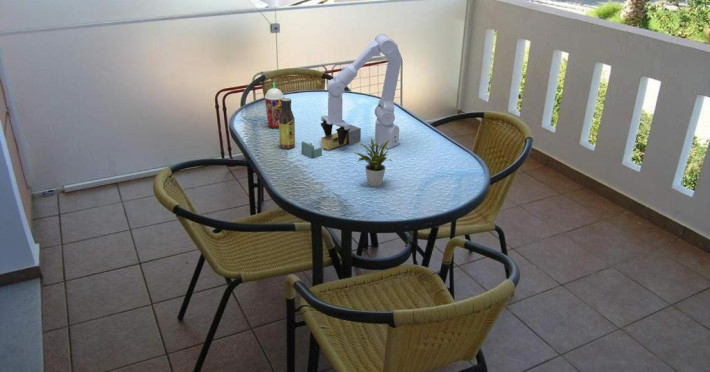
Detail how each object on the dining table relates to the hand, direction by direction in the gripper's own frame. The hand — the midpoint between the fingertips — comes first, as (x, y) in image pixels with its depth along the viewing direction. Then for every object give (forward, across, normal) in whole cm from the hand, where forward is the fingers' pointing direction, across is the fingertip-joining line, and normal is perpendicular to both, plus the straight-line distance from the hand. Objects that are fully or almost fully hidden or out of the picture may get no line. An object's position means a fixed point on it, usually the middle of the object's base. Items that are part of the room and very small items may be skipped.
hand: (334, 141), depth 242 cm
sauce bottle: (+2, -13, -14) cm, 19 cm away
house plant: (+2, +35, -12) cm, 37 cm away
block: (+1, 0, +2) cm, 3 cm away
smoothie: (+2, -35, -3) cm, 35 cm away
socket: (+2, 0, -13) cm, 13 cm away
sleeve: (+2, 0, +8) cm, 8 cm away
